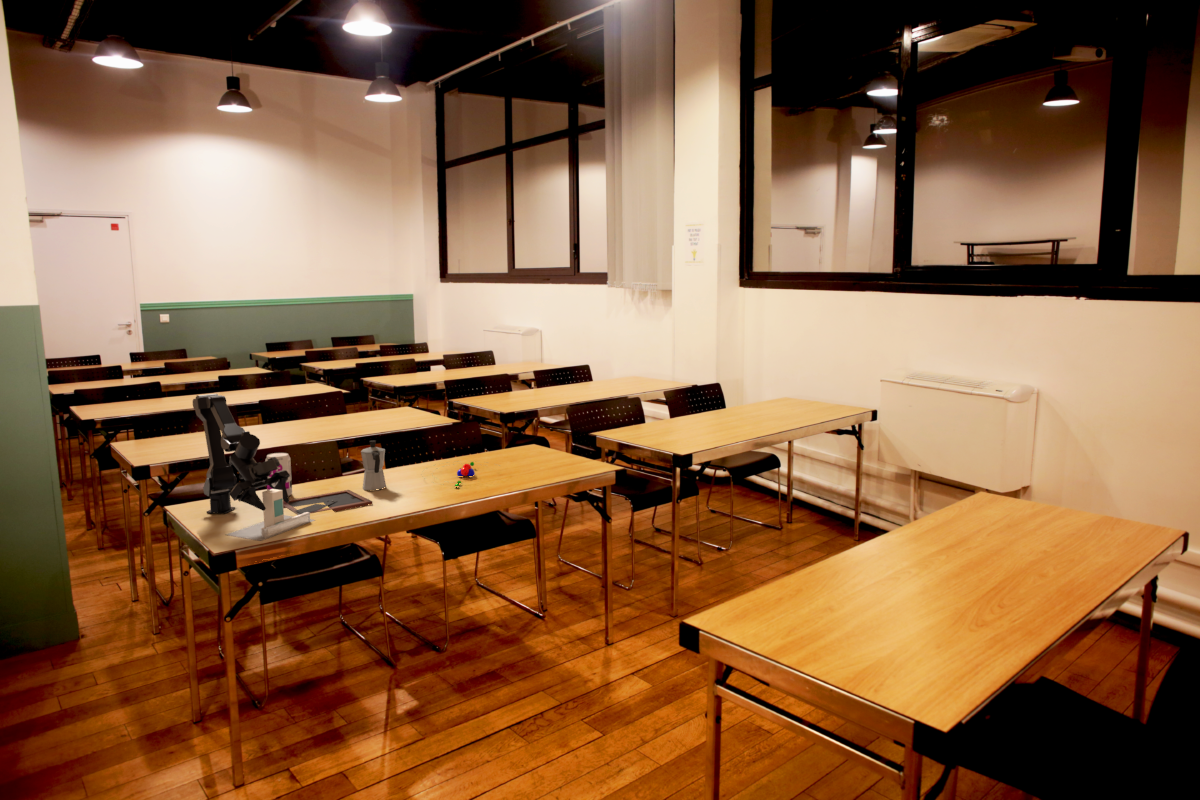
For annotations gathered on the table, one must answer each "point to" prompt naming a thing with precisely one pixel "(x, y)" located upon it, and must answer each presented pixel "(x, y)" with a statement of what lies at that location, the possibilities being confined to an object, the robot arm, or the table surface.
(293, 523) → the rail
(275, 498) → the carton
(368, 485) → the coffee maker
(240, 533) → the shelf board
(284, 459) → the supplement can
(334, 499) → the picture frame
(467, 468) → the atom model
